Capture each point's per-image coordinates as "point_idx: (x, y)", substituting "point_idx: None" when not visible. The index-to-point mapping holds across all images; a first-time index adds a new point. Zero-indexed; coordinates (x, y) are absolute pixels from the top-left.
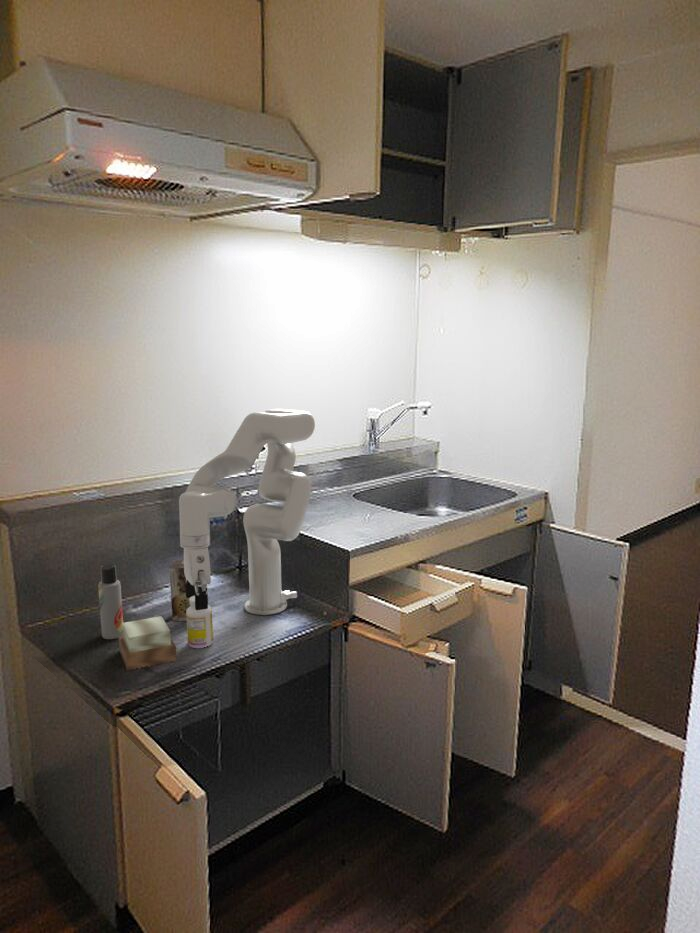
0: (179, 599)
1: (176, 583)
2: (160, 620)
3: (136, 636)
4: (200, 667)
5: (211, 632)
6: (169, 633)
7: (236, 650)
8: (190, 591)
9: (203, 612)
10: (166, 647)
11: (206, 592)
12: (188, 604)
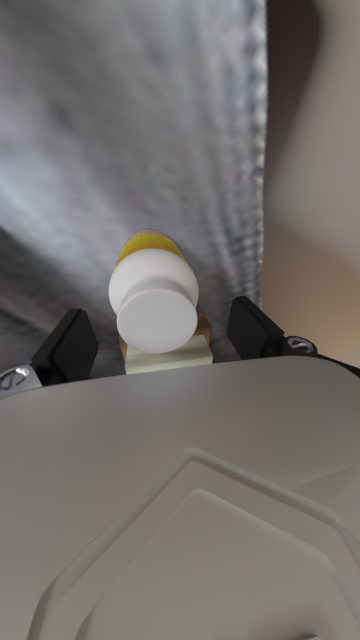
0: None
1: None
2: (151, 369)
3: None
4: (247, 281)
5: (173, 243)
6: (210, 352)
7: (225, 182)
8: (86, 354)
9: (197, 292)
10: (208, 340)
11: (311, 350)
12: None
